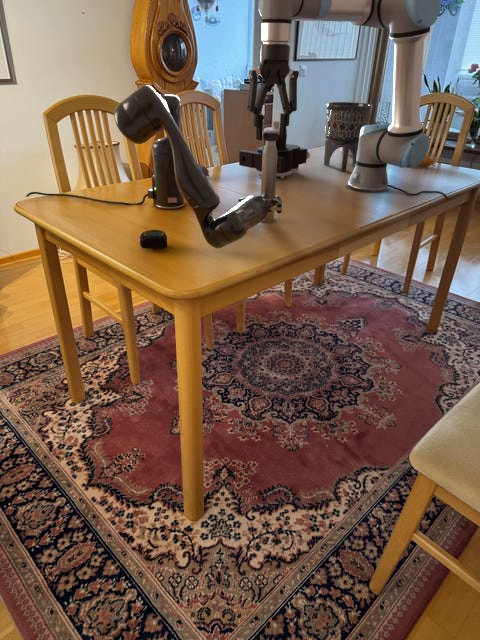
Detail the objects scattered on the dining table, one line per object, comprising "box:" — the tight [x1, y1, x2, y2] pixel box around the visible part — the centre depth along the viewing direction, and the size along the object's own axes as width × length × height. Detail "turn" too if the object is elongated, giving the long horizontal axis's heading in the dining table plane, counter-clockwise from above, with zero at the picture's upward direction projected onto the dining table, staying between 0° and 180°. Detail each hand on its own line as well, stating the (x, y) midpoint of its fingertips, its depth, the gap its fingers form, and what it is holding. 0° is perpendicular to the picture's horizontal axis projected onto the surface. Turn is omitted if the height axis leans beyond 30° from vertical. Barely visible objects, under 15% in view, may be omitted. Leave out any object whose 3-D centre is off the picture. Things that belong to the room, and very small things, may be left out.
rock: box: [197, 163, 210, 178], centre depth 182 cm, size 13×9×6 cm, turn 131°
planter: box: [323, 101, 374, 172], centre depth 204 cm, size 20×20×26 cm
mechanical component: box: [238, 120, 311, 179], centre depth 191 cm, size 22×21×30 cm
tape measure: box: [139, 229, 168, 250], centre depth 117 cm, size 7×7×4 cm
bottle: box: [260, 141, 277, 223], centre depth 134 cm, size 4×4×25 cm
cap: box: [262, 131, 278, 141], centre depth 128 cm, size 4×4×2 cm
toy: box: [417, 154, 435, 169], centre depth 214 cm, size 11×6×15 cm
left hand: (270, 197), depth 139 cm, fingers closed on bottle, 4 cm apart
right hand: (270, 139), depth 128 cm, fingers open, 6 cm apart
